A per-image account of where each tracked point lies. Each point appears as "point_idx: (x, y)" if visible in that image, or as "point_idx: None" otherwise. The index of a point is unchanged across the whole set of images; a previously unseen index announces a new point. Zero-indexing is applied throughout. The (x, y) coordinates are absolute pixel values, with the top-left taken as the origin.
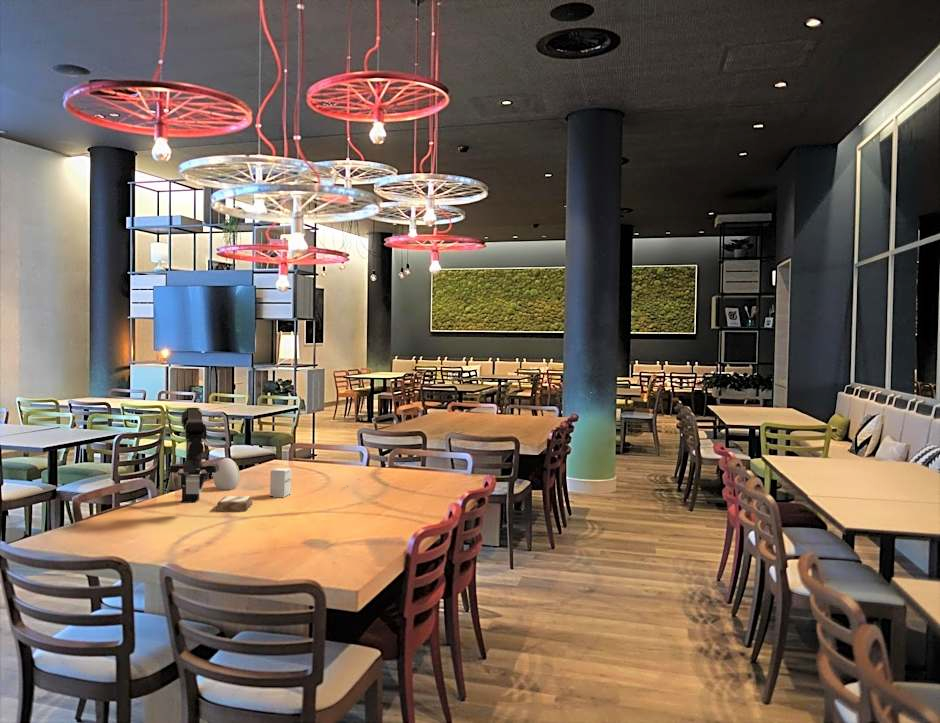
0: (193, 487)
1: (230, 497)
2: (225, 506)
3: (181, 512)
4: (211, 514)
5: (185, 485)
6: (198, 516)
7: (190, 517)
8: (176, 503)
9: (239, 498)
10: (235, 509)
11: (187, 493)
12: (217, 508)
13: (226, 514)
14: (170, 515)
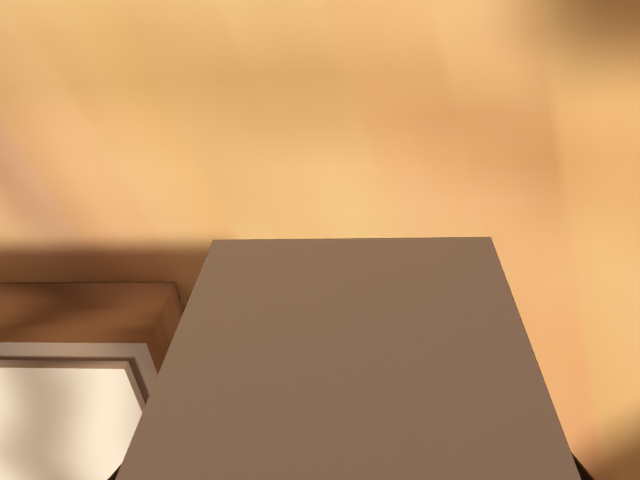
0: (309, 349)
1: None
2: (80, 314)
3: (513, 233)
4: (163, 163)
5: (574, 460)
6: (266, 65)
7: (347, 5)
8: (600, 475)
9: (19, 450)
10: (2, 294)
11: (456, 245)
12: (165, 300)
13: (9, 169)
14: (627, 100)
